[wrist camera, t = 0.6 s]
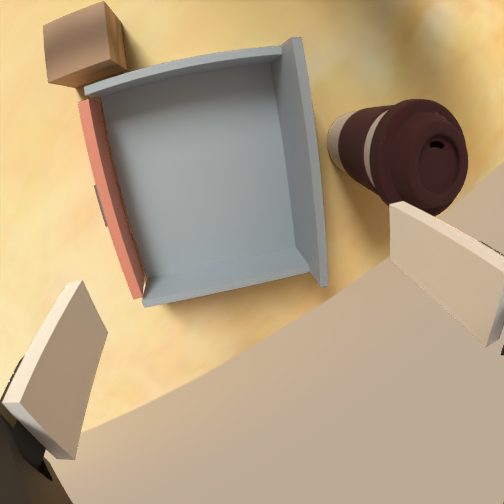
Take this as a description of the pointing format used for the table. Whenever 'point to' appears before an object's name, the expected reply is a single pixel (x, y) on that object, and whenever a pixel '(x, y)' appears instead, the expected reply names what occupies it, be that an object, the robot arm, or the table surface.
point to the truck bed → (219, 170)
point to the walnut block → (84, 46)
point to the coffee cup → (403, 152)
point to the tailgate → (110, 195)
